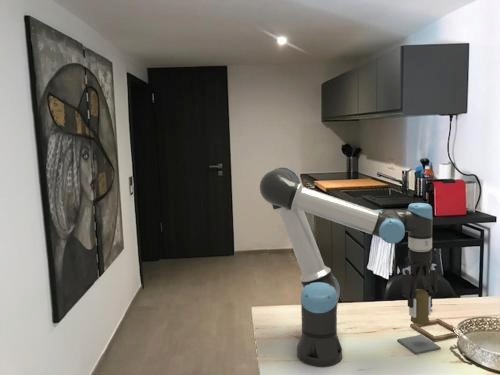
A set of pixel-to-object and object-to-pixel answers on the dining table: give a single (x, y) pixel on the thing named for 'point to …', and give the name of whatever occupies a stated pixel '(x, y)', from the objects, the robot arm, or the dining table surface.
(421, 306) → the cork
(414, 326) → the wooden square frame
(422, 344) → the slate pad
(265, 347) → the dining table surface
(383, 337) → the dining table surface
